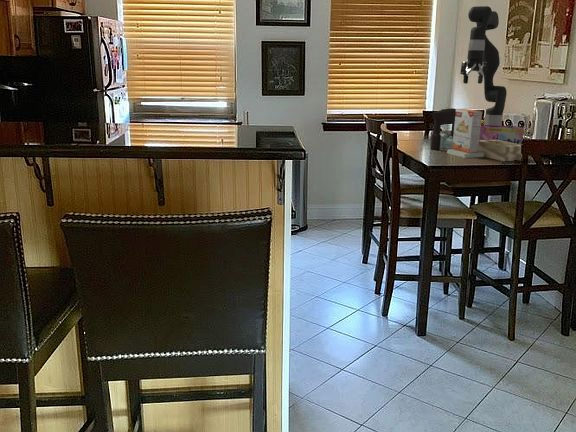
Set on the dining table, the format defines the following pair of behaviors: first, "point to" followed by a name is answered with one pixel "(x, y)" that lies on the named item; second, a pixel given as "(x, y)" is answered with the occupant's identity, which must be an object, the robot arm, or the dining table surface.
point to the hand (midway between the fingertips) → (472, 83)
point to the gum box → (502, 133)
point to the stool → (440, 119)
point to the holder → (500, 150)
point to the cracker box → (467, 130)
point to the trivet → (464, 153)
